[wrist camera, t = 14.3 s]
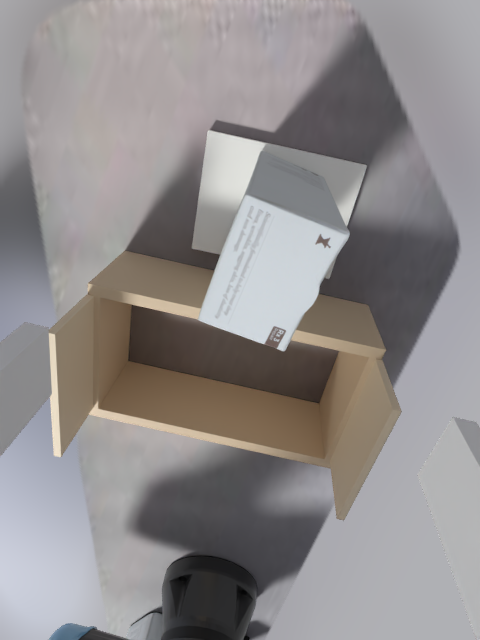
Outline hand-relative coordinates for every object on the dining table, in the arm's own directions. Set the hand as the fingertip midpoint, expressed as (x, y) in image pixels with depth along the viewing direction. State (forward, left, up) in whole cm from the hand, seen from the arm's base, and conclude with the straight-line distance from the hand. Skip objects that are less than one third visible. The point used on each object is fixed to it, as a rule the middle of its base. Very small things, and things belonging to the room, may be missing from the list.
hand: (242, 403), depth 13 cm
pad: (+1, 0, -25) cm, 25 cm away
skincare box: (+1, 0, -25) cm, 25 cm away
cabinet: (-13, +1, -25) cm, 28 cm away
